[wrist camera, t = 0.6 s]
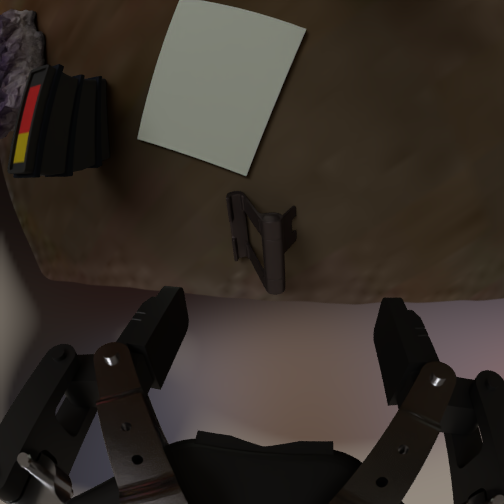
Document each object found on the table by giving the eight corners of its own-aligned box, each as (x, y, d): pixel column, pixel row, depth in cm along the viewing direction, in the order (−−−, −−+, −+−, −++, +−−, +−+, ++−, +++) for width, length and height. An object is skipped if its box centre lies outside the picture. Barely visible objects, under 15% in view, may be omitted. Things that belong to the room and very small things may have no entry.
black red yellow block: (87, 184, 35) (5, 176, 20) (103, 93, 33) (34, 53, 18) (109, 185, 35) (26, 176, 20) (125, 90, 33) (58, 44, 18)
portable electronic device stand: (228, 189, 35) (210, 221, 28) (295, 187, 34) (294, 220, 27) (236, 252, 40) (223, 293, 33) (296, 252, 38) (295, 295, 31)
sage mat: (182, -2, 22) (180, -3, 22) (306, 30, 24) (306, 29, 23) (139, 137, 32) (137, 138, 32) (247, 174, 33) (246, 176, 33)
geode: (1, 32, 23) (-40, 33, 14) (50, -2, 22) (9, -12, 13) (13, 137, 33) (-29, 153, 24) (61, 112, 32) (17, 123, 23)
